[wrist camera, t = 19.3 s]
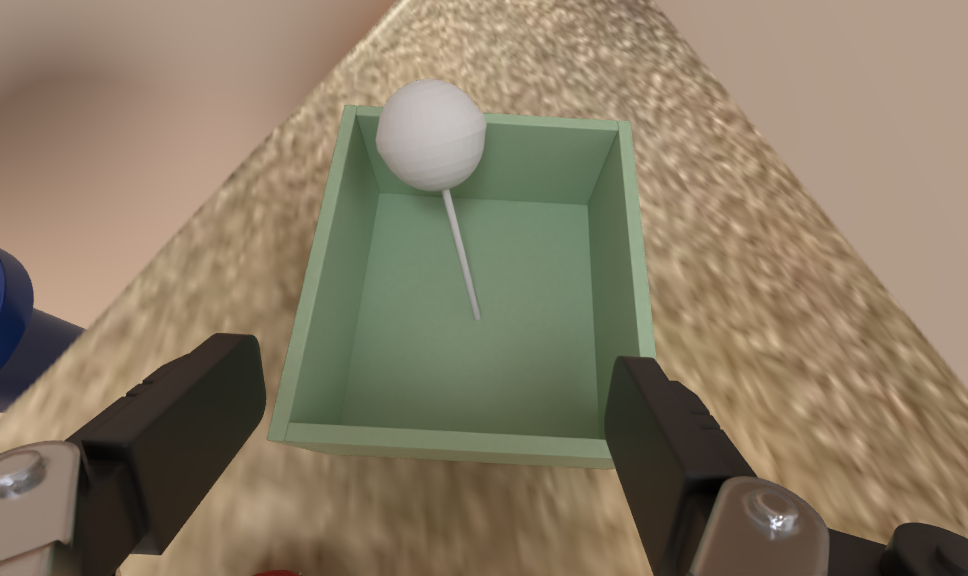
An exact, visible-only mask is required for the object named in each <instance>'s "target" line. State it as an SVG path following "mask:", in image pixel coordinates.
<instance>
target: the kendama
mask: <svg viewBox="0 0 968 576" xmlns="http://www.w3.org/2000/svg"><path fill="white" fill-rule="evenodd" d="M253 576H303V575H302V573H301V572H300V573H299V574H298V573H294V572H291V571H286V570H273V571H266V572H262V573H258V574H256V575H253Z"/></svg>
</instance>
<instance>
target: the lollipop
mask: <svg viewBox="0 0 968 576" xmlns="http://www.w3.org/2000/svg"><path fill="white" fill-rule="evenodd" d="M485 132H486V121H485V118H484V115H483V113H482V112H481V111H480V110H479V108H478V107H477V106H476V105H475V104H474V102H473V101H472V100H471V98H470V97H469V96H468V95H467V94H466V93H464V92H463V91H462V90H461V89H460V88H458V87H456V86H454V85H453V84H451V83H448V82H445V81H442V80H437V79H422V80H416V81H414V82H411V83H408V84H406V85H404V86H403V87H401V88H400V89H398V90H397V91H396V92H395V93H394V94H393V95H392V96H391V97H390V98H389V100H388V101H387V103H386V104H385V106H384V108H383V110H382V113H381V115H380V118H379V124H378V129H377V134H376V140H375V141H376V146H377V150H378V152H379V154H380V155H381V157H382V158H383V160H384V161H385V163H386V164H387V166H388V167H389V169H390V170H391V171H392V172H393V173H394V174H395V175H396V176H397V177H398V178H399V179H400V180H401V181H403V182H404V183H406V184H407V185H409V186H411V187H414V188H416V189H419V190H424V191H442V195H443V199H444V202H445V206H446V210H447V214H448V218H449V222H450V226H451V230H452V234H453V237H454V241H455V245H456V249H457V253H458V257H459V261H460V265H461V269H462V272H463V276H464V280H465V284H466V288H467V292H468V296H469V300H470V303H471V307H472V311H473V315H474V319H475V320H480V319H481V315H480V311H479V307H478V303H477V299H476V295H475V291H474V287H473V283H472V279H471V275H470V271H469V267H468V263H467V259H466V255H465V251H464V247H463V243H462V239H461V235H460V231H459V227H458V223H457V219H456V215H455V211H454V207H453V203H452V199H451V195H450V191H449V189H450V188H452V187H455V186H457V185H459V184H461V183H462V182H463V181H464V180H466V179H467V178H468V177H469V176H470V175H471V174H472V172H473V171H474V170H475V169H476V167H477V165H478V163H479V161H480V159H481V156H482V153H483V149H484V142H485Z"/></svg>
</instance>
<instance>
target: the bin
mask: <svg viewBox="0 0 968 576" xmlns="http://www.w3.org/2000/svg"><path fill="white" fill-rule="evenodd" d="M383 108H384V107H374V106H358V107H357V106H356V105H345V106H344V111H343V115H342V119H341V124H340V128H339V132H338V136H337V141H336V145H335V149H334V154H333V158H332V162H331V166H330V171H329V175H328V179H327V184H326V188H325V192H324V196H323V201H322V205H321V209H320V214H319V218H318V222H317V226H316V231H315V235H314V239H313V244H312V248H311V252H310V256H309V261H308V265H307V269H306V274H305V278H304V282H303V286H302V291H301V295H300V299H299V304H298V308H297V312H296V316H295V321H294V325H293V329H292V334H291V338H290V342H289V346H288V351H287V355H286V359H285V364H284V368H283V372H282V376H281V381H280V385H279V389H278V394H277V398H276V402H275V406H274V411H273V415H272V419H271V424H270V428H269V432H268V436H267V440H269V441H273V442H277V443H282V444H286V445H290V446H295V447H299V448H303V449H308V450H312V451H316V452H320V453H325V454H335V455H354V456H372V457H391V458H409V459H428V460H446V461H464V462H483V463H501V464H520V465H538V466H557V467H575V468H594V469H616V468H615V465H614V463H613V460H612V457H611V454H610V451H609V448H608V446H607V443H606V439H605V432H604V416H605V410H606V404H607V399H608V393H609V388H610V382H611V377H612V371H613V366H614V362H615V360H616V358H617V357H618V356H636V357H652V358H654V359H655V360H656V351H655V342H654V333H653V324H652V315H651V305H650V296H649V287H648V278H647V269H646V259H645V250H644V241H643V232H642V223H641V213H640V204H639V195H638V186H637V177H636V167H635V158H634V149H633V140H632V131H631V122H630V121H618V122H617V121H613V120H596V119H579V118H562V117H545V116H528V115H511V114H494V113H483V115H484V118H485V121H486V132H485V142H484V149H483V153H482V156H481V159H480V161H479V163H478V165H477V167H476V169H475V170H474V171H473V172H472V174H471V175H470V176H469V177H468V178H467V179H466V180H464V181H463V182H462V183H461V184H459V185H457V186H455V187H452V188H450V189H449V191H450V195H451V199H452V203H453V207H454V211H455V215H456V219H457V223H458V227H459V231H460V235H461V239H462V243H463V247H464V251H465V255H466V259H467V263H468V267H469V271H470V275H471V279H472V283H473V287H474V291H475V295H476V299H477V303H478V307H479V311H480V315H481V319H480V320H475V319H474V315H473V311H472V307H471V303H470V300H469V296H468V292H467V288H466V284H465V280H464V276H463V272H462V269H461V265H460V261H459V257H458V253H457V249H456V245H455V241H454V237H453V234H452V230H451V226H450V222H449V218H448V214H447V210H446V206H445V202H444V199H443V195H442V191H424V190H419V189H416V188H414V187H411V186H409V185H407V184H406V183H404V182H403V181H401V180H400V179H399V178H398V177H397V176H396V175H395V174H394V173H393V172H392V171H391V170H390V169H389V167H388V166H387V164H386V163H385V161H384V160H383V158H382V157H381V155H380V154H379V152H378V150H377V146H376V141H375V140H376V134H377V129H378V124H379V118H380V115H381V113H382V110H383ZM656 362H657V361H656Z"/></svg>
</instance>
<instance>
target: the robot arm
mask: <svg viewBox="0 0 968 576" xmlns="http://www.w3.org/2000/svg"><path fill="white" fill-rule="evenodd" d="M265 406H266V390H265V383H264V376H263V369H262V362H261V355H260V348H259V343H258V340H257V338H256V337H255V336H253V335H247V334H229V333H216V334H214V335H212V336H211V337H209V338H208V339H207V340H206V341H204V342H203V343H202V344H201V345H199V346H198V347H197V348H196V349H194V350H193V351H192V352H191V353H189V354H186V355H184V356H182V357H180V358H178V359H175V360H173V361H171V362H169V363H167V364H165V365H162V366H161V367H160V368H158V369H157V370H156V371H154V372H153V373H152V374H151V375H149V376H148V377H147V378H145V379H144V380H143V383H142V384H138V385H136V386H135V387H134V388H132V389H131V390H130V391H128V392H127V393H126V396H125V397H121V398H119V399H118V400H117V401H115V402H114V403H113V404H112V405H110V406H109V407H108V408H106V409H105V410H104V411H102V412H101V413H100V414H99V415H97V416H96V417H95V418H93V419H92V420H91V421H89V422H88V423H87V424H86V425H84V426H83V427H82V428H80V429H79V430H78V431H76V432H75V433H74V434H73V435H71V436H70V437H69V438H67V439H66V440H65V441H54V440H53V441H43V442H36V443H32V444H27V445H23V446H20V447H17V448H13V449H11V450H8V451H5V452H2V453H0V576H122V575H121V572H120V570H119V566H120V565H121V564H122V563H123V562H124V560H125V559H126V558H127V557H128V555H129V554H148V555H162V553H163V552H164V551H165V549H166V548H167V547H168V545H169V544H170V543H171V541H172V540H173V539H174V537H175V536H176V535H177V533H178V532H179V531H180V529H181V528H182V527H183V525H184V524H185V523H186V521H187V520H188V519H189V517H190V516H191V515H192V513H193V512H194V510H195V509H196V508H197V506H198V505H199V504H200V502H201V501H202V500H203V498H204V497H205V496H206V494H207V493H208V492H209V490H210V489H211V488H212V486H213V485H214V484H215V482H216V481H217V480H218V478H219V477H220V476H221V474H222V473H223V471H224V470H225V469H226V467H227V466H228V465H229V463H230V462H231V461H232V459H233V458H234V457H235V455H236V454H237V453H238V451H239V450H240V449H241V447H242V446H243V445H244V443H245V442H246V441H247V439H248V438H249V437H250V435H251V434H252V432H253V431H254V430H255V428H256V427H257V426H258V424H259V423H260V421H261V419H262V417H263V414H264V411H265ZM604 432H605V439H606V443H607V446H608V448H609V451H610V454H611V457H612V460H613V463H614V465H615V468H616V471H617V474H618V477H619V479H620V482H621V485H622V488H623V491H624V493H625V496H626V499H627V502H628V505H629V507H630V510H631V513H632V516H633V519H634V521H635V524H636V527H637V530H638V533H639V536H640V538H641V541H642V544H643V547H644V550H645V552H646V555H647V558H648V561H649V564H650V566H651V569H652V572H653V575H654V576H968V539H967V538H965V537H963V536H961V535H958V534H956V533H953V532H951V531H949V530H946V529H943V528H940V527H936V526H933V525H929V524H923V523H905V524H902V525H900V526H898V527H897V528H896V529H895V531H894V533H893V535H892V537H891V539H890V541H889V543H888V545H884V544H880V543H877V542H873V541H870V540H866V539H863V538H860V537H856V536H853V535H849V534H846V533H842V532H839V531H836V530H832V529H829V528H827V526H826V524H825V523H824V521H823V519H822V518H821V517H820V515H819V514H818V513H817V512H816V511H815V510H814V509H813V508H812V507H811V506H810V505H809V504H808V503H807V502H806V501H805V500H803V499H802V498H800V497H799V496H798V495H796V494H795V493H793V492H791V491H790V490H788V489H786V488H784V487H782V486H780V485H778V484H775V483H773V482H770V481H767V480H764V479H761V478H758V477H757V475H756V474H755V473H754V471H753V470H752V469H751V467H750V466H749V465H748V463H747V462H746V461H745V459H744V458H743V456H742V455H741V454H740V452H739V451H738V450H737V448H736V447H735V446H734V444H733V443H732V442H731V440H730V439H729V438H728V436H727V435H726V433H725V432H724V431H723V430H720V425H719V424H718V423H717V421H716V420H715V419H714V417H713V416H712V415H710V412H709V410H708V409H707V408H706V406H705V405H704V404H703V402H702V401H701V400H700V398H699V397H698V396H697V395H696V394H695V393H693V392H692V391H691V390H689V389H688V388H686V387H685V386H684V385H682V384H681V383H680V382H678V381H669V379H668V378H667V376H666V375H665V373H664V372H663V370H662V369H661V367H660V366H659V365H658V363H657V362H656V360H655V359H654V358H652V357H636V356H618V357H617V358H616V360H615V362H614V366H613V371H612V377H611V382H610V388H609V393H608V399H607V404H606V410H605V416H604Z"/></svg>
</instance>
